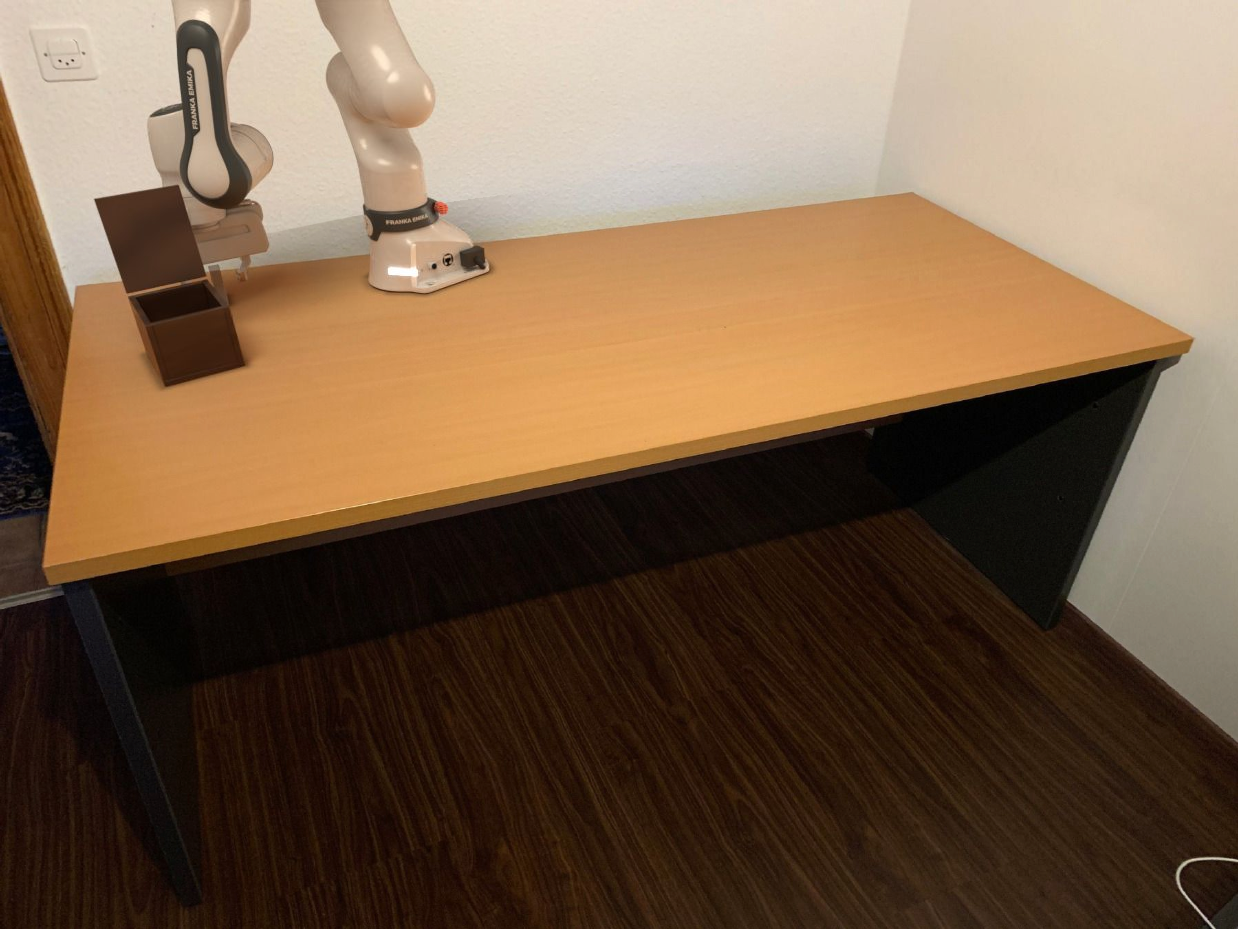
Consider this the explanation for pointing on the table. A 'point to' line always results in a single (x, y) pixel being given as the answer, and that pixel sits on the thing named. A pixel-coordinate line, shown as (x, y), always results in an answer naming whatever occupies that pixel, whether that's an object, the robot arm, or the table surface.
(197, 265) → the lid
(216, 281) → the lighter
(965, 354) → the table surface
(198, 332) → the chest
